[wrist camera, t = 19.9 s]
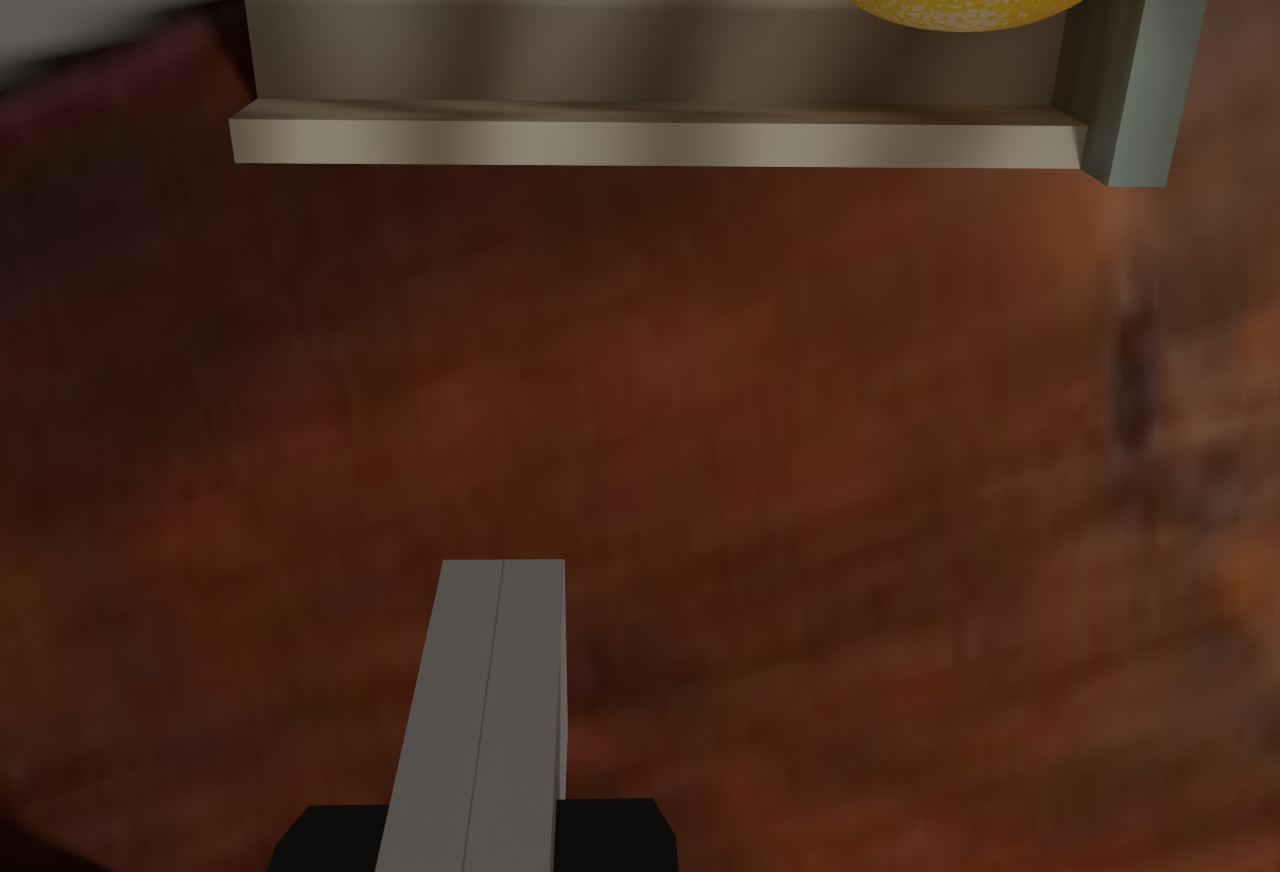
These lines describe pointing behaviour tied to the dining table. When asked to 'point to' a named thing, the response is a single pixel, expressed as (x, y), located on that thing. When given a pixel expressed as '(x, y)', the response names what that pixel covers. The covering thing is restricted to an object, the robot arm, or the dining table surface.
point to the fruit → (964, 13)
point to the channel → (715, 85)
